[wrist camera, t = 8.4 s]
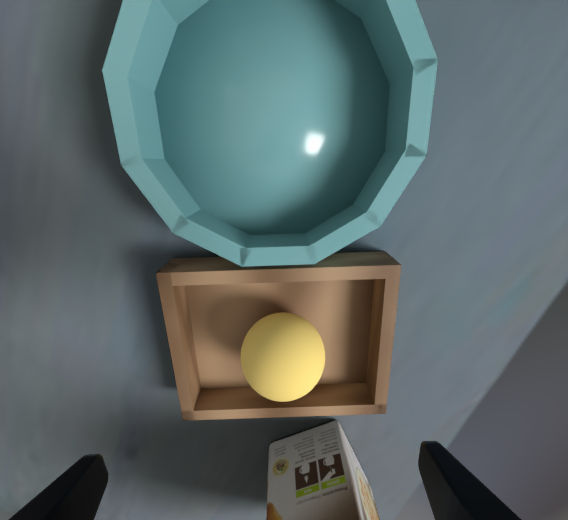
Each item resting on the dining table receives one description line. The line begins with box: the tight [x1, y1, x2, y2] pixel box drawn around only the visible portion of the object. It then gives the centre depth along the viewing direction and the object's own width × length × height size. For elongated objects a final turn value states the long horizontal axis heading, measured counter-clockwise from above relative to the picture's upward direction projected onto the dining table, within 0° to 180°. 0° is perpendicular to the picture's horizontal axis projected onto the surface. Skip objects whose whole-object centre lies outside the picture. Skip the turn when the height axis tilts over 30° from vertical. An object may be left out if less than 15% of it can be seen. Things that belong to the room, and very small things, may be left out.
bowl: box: [102, 0, 438, 267], centre depth 14 cm, size 14×14×3 cm
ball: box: [241, 312, 325, 402], centre depth 17 cm, size 5×5×5 cm
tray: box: [156, 251, 401, 421], centre depth 19 cm, size 14×11×3 cm
